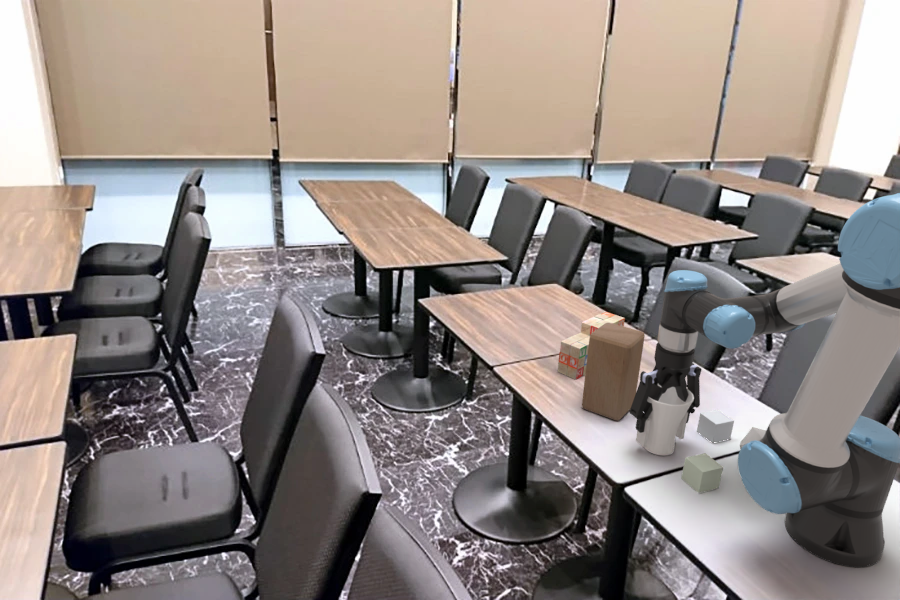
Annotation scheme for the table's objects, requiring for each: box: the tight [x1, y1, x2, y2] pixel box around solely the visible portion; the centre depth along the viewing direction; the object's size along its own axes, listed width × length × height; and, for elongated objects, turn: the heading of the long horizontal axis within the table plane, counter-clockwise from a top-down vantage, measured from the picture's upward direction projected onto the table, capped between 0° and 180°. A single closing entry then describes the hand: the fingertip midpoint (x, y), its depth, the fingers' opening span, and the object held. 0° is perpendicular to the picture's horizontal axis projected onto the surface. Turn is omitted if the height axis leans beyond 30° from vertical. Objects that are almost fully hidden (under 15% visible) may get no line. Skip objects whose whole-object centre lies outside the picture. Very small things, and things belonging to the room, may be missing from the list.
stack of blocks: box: [557, 311, 626, 380], centre depth 173 cm, size 21×6×12 cm, turn 134°
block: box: [581, 323, 646, 421], centre depth 149 cm, size 10×10×20 cm
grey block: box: [739, 426, 767, 450], centre depth 131 cm, size 8×9×10 cm
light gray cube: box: [696, 409, 735, 444], centre depth 142 cm, size 5×5×5 cm
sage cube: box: [681, 452, 724, 494], centre depth 125 cm, size 5×5×5 cm
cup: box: [643, 384, 694, 456], centre depth 135 cm, size 10×10×14 cm
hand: (659, 439), depth 137 cm, fingers closed on cup, 9 cm apart
